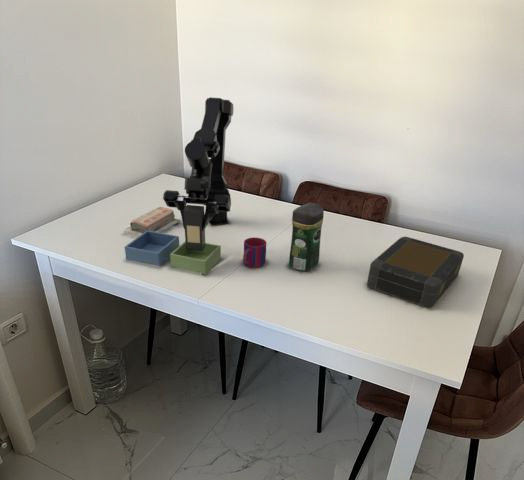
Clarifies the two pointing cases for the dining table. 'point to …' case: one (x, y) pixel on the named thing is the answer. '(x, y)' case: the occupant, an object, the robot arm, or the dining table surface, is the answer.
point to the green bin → (196, 258)
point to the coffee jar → (306, 236)
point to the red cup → (254, 252)
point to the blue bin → (151, 248)
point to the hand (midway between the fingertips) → (193, 229)
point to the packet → (194, 227)
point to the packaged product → (152, 222)
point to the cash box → (415, 271)
